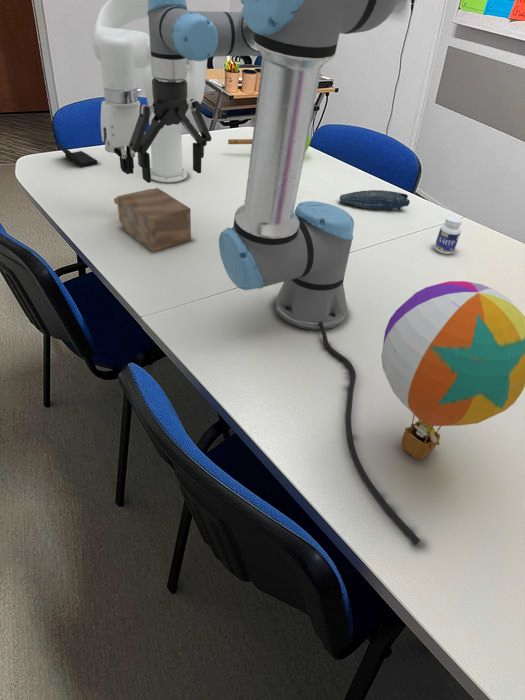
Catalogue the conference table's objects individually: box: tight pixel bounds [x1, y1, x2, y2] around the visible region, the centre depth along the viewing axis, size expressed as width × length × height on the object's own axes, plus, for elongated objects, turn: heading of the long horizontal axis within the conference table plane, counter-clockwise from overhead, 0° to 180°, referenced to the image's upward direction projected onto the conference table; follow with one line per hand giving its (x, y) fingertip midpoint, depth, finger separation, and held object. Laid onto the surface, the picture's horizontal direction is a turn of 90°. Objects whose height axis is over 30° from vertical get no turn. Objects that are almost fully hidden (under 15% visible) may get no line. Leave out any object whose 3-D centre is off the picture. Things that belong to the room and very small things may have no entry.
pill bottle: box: [434, 215, 463, 255], centre depth 137 cm, size 5×5×9 cm
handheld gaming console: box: [53, 140, 98, 167], centre depth 169 cm, size 12×7×10 cm
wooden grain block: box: [118, 187, 192, 253], centre depth 132 cm, size 15×11×9 cm
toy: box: [380, 280, 525, 461], centre depth 74 cm, size 20×20×30 cm
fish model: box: [339, 189, 411, 211], centre depth 158 cm, size 7×21×5 cm, turn 84°
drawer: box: [113, 188, 152, 223], centre depth 136 cm, size 19×10×7 cm, turn 41°
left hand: (127, 172), depth 134 cm, fingers closed
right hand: (172, 176), depth 125 cm, fingers open, 13 cm apart
